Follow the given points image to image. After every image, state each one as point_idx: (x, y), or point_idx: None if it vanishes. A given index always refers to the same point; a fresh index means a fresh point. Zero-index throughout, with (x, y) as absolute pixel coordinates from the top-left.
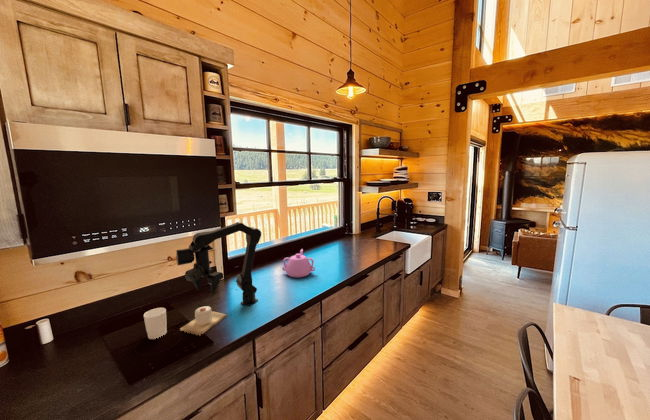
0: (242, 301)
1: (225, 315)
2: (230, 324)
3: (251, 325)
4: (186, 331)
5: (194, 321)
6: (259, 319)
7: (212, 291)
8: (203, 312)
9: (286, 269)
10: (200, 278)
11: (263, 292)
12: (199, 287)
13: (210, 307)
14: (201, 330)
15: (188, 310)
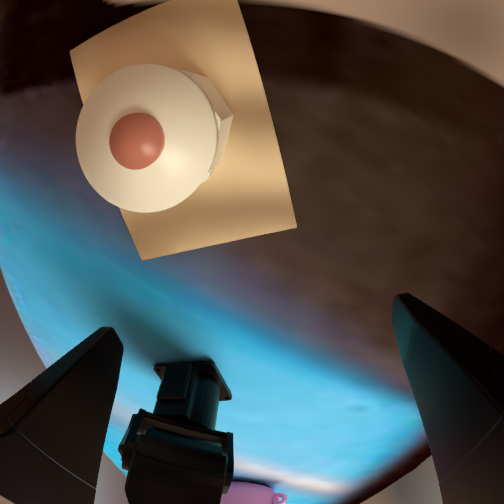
0: (218, 374)
1: (140, 251)
2: (60, 216)
3: (14, 262)
4: (169, 2)
5: (232, 80)
6: (36, 304)
7: (71, 351)
8: (92, 122)
9: (256, 500)
10: (447, 484)
11: (225, 431)
12: (407, 347)
13: (129, 209)
14: (86, 69)
15: (440, 170)
